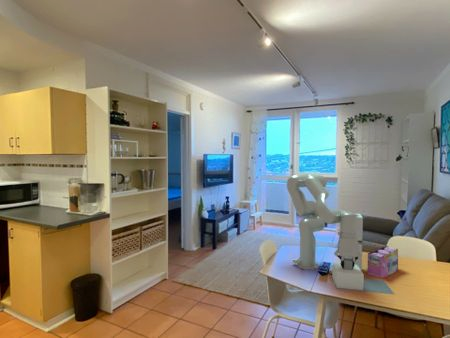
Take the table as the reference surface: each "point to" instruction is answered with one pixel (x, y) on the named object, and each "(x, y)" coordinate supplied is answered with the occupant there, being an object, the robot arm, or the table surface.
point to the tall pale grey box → (359, 236)
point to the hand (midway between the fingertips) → (347, 267)
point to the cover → (348, 275)
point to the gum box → (382, 262)
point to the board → (372, 286)
